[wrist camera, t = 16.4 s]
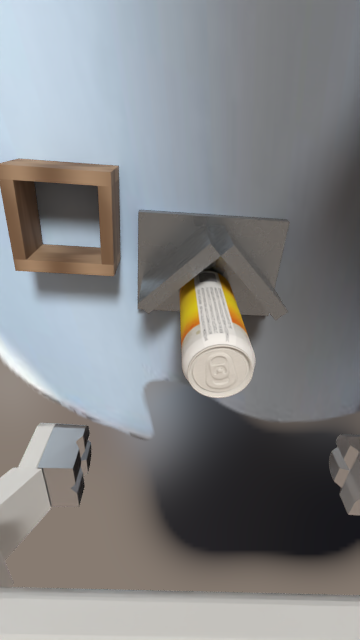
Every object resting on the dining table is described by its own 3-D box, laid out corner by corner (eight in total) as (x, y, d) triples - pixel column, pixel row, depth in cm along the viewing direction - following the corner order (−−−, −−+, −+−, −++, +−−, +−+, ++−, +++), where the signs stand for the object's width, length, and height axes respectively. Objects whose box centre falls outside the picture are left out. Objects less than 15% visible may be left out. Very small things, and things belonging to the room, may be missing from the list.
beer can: (183, 318, 42) (188, 405, 29) (175, 272, 39) (176, 347, 26) (232, 310, 42) (260, 396, 29) (228, 264, 39) (256, 336, 26)
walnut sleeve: (118, 165, 34) (110, 172, 30) (120, 259, 39) (113, 276, 35) (18, 158, 34) (-4, 164, 29) (33, 253, 39) (15, 270, 34)
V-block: (286, 219, 37) (312, 241, 30) (266, 312, 43) (284, 348, 36) (139, 209, 36) (131, 230, 29) (138, 305, 42) (131, 341, 35)
